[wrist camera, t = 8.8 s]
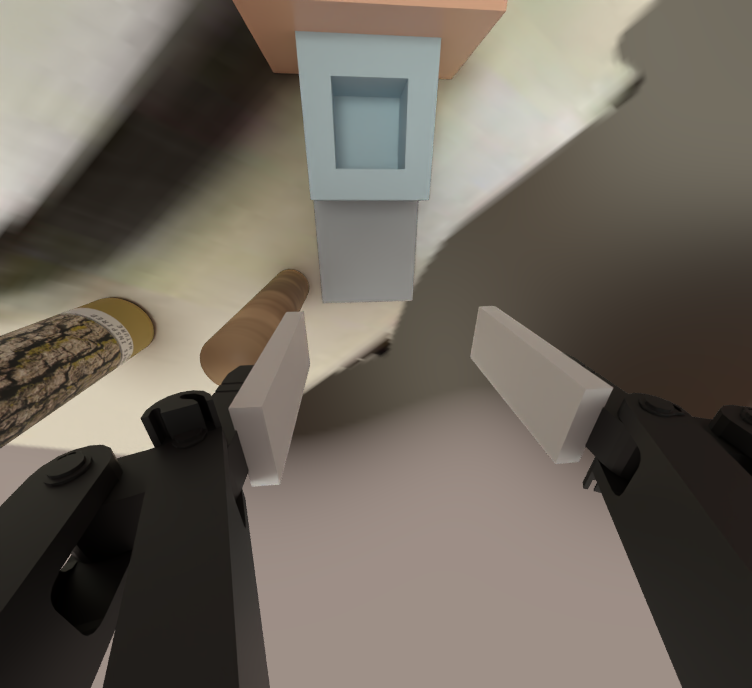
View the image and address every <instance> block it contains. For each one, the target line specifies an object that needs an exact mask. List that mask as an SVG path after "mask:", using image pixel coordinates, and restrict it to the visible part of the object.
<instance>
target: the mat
mask: <svg viewBox="0 0 752 688" xmlns="http://www.w3.org/2000/svg"><path fill="white" fill-rule="evenodd" d="M314 210H315V221H316V232H317V244H318V255H319V266H320V277H321V288H322V299H323V303H345V302H383V301H412V298H413V281H414V265H415V248H416V232H417V215H418V201H316V200H314Z"/></svg>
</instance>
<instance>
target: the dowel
mask: <svg viewBox="0 0 752 688" xmlns="http://www.w3.org/2000/svg"><path fill="white" fill-rule="evenodd" d="M308 292H309V284H308V281H307V279H306V278H305V276H304V275H303V274H301V273H300V272H298V271H296V270H291V269H289V270H284V271H282V272H280V273H279V274H278V275H277V276H276V277H275V278H274V279H273V280H272V281H270V282H269V283H268V284H267V285H266V286H265V287H264V288H263V289H262V290H261V291H260V292H259V293H258V294H257V295H256V296H255V297H254V298H253V299H251V300H250V301H249V302H248V303H247V304H246V305H245V306H244V307H243V308H242V309H241V310H240V311H239V312H238V313H237V314H236V315H235V316H234V317H233V318H231V319H230V320H229V321H228V322H227V323H226V324H225V325H224V326H223V327H222V328H221V329H220V330H219V331H218V332H217V333H216V334H215V335H214V336H212V337H211V338H210V339H209V340H208V341H207V342H206V343H205V344H204V346H203V347H202V350H201V353H200V363H201V366H202V369H203V371H204V372H205V374H206V375H207V376H208V377H209V378H210V379H211V380H212V381H213V382H214V383H216V384H217V385H221V383H222V381H223V380H224V379H225V377H226V376H227V374H228V373H230V372H231V371H233V370H234V369H236V368H237V367H238V366H240V365H255V363H256V362H257V360H258V358H259V357H260V355H261V353H262V352H263V350H264V348H265V347H266V345H267V343H268V342H269V340H270V338H271V337H272V335H273V333H274V332H275V330H276V328H277V327H278V325H279V323H280V322H281V320H282V318H283V317H284V315H285V313H286V312H299V311H300V309H301V307H302V305H303V303H304V301H305V299H306V297H307V295H308Z"/></svg>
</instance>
